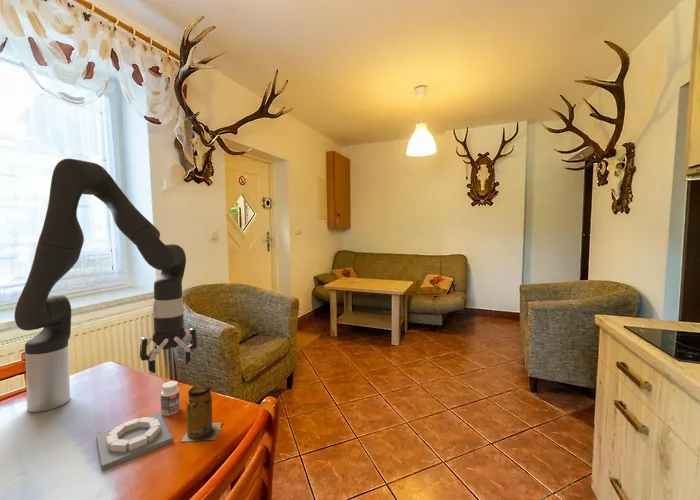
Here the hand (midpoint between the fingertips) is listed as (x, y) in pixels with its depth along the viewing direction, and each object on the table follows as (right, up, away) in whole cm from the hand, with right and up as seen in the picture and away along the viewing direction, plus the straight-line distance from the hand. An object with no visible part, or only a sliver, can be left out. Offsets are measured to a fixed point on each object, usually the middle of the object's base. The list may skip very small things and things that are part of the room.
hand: (169, 367), depth 90 cm
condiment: (+14, -14, -8) cm, 21 cm away
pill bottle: (0, -14, +1) cm, 14 cm away
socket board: (-2, -14, -12) cm, 18 cm away
